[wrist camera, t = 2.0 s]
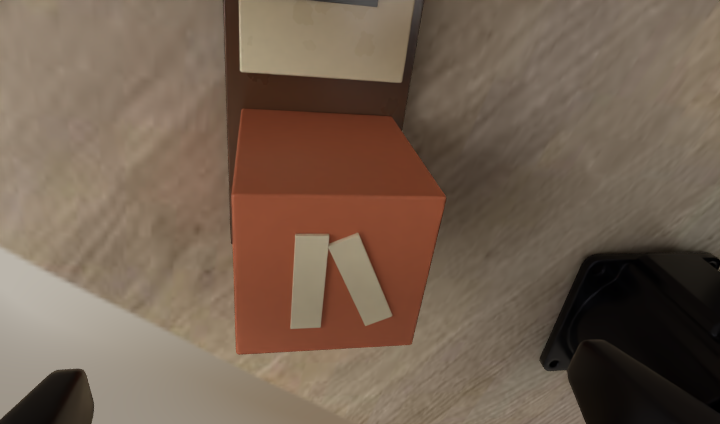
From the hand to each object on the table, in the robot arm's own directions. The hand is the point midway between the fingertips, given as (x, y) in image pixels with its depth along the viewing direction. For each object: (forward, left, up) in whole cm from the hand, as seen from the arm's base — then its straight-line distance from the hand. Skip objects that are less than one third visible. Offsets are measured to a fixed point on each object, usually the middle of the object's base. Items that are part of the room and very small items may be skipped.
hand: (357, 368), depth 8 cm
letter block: (0, 0, -7) cm, 7 cm away
